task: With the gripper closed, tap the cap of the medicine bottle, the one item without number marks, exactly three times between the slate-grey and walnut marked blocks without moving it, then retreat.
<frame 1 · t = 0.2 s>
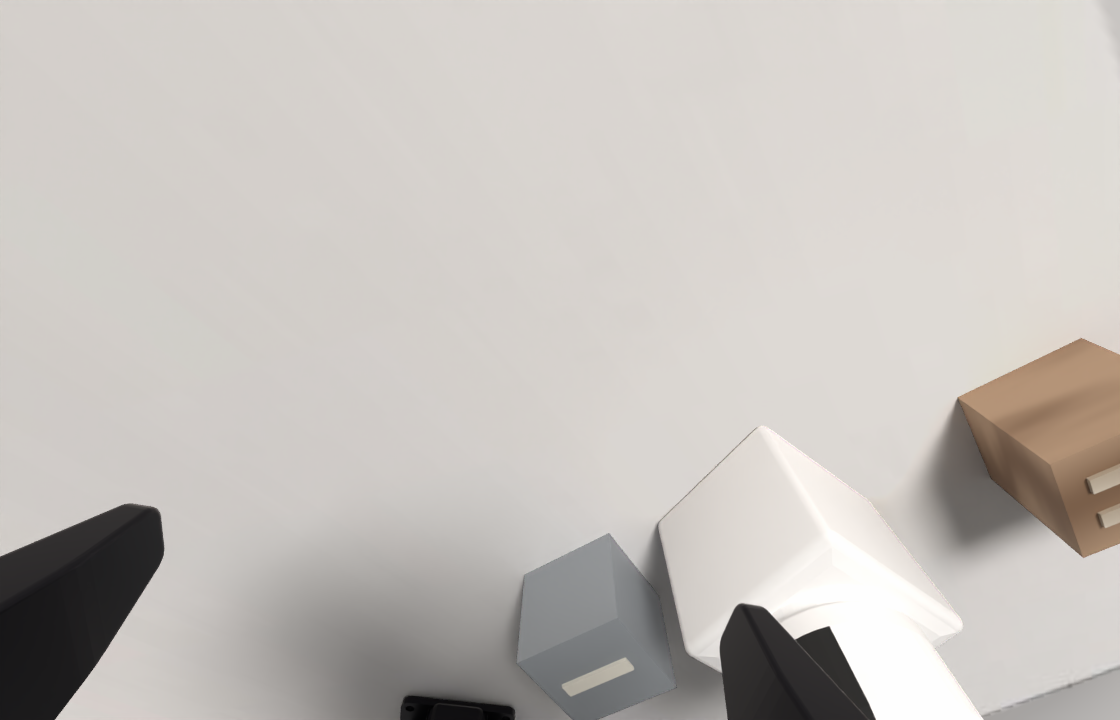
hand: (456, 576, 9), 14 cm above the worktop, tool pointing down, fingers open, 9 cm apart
medicine bottle: (759, 508, 26), on the worktop
slate block one: (592, 584, 28), on the worktop
walnut block two: (1032, 411, 24), on the worktop
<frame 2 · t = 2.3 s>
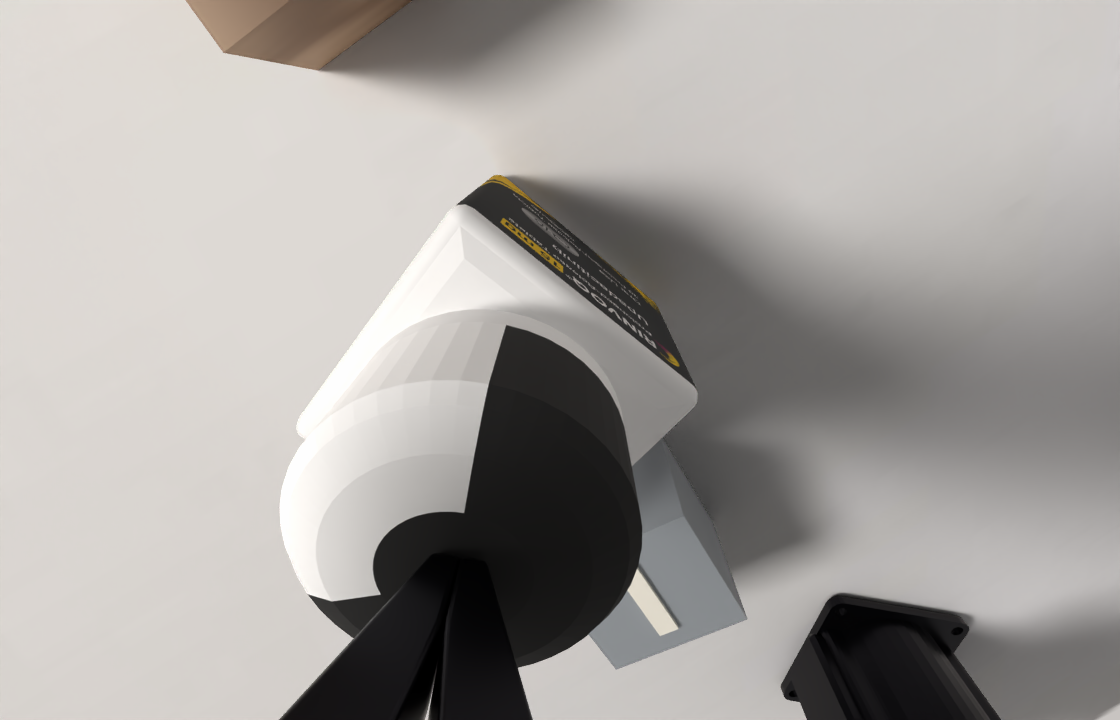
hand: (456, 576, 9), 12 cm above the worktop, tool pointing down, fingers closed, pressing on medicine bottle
medicine bottle: (518, 316, 20), on the worktop, touching gripper
slate block one: (631, 502, 23), on the worktop
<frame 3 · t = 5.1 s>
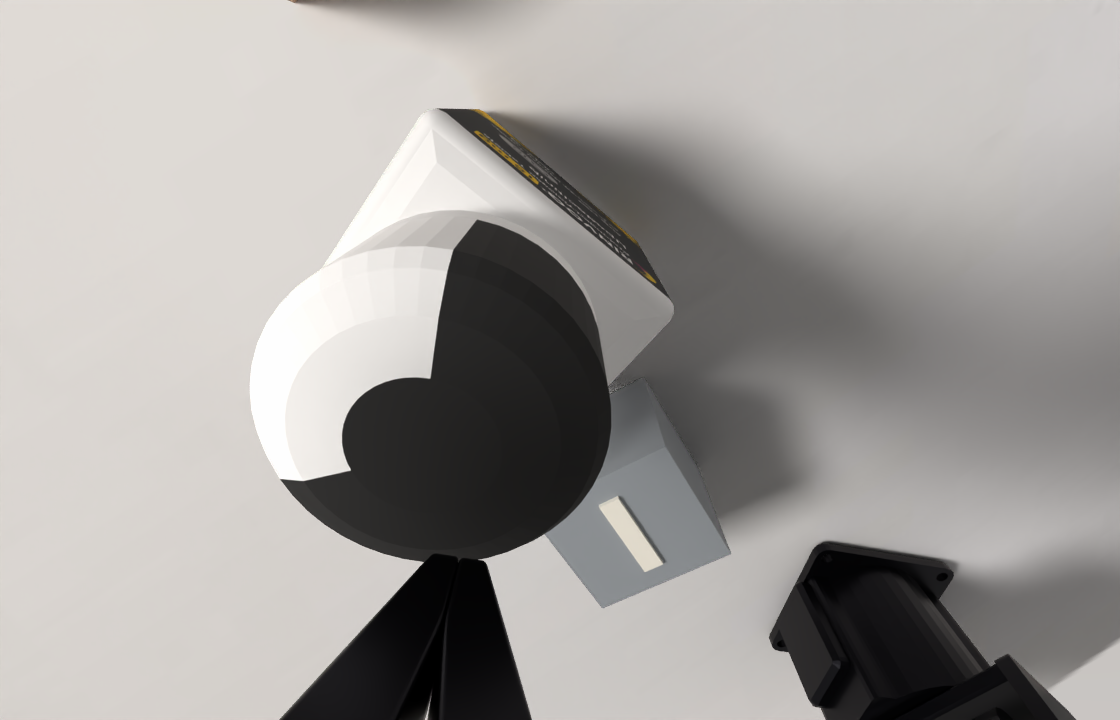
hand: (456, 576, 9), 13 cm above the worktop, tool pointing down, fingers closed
medicine bottle: (501, 258, 20), on the worktop
slate block one: (617, 449, 23), on the worktop
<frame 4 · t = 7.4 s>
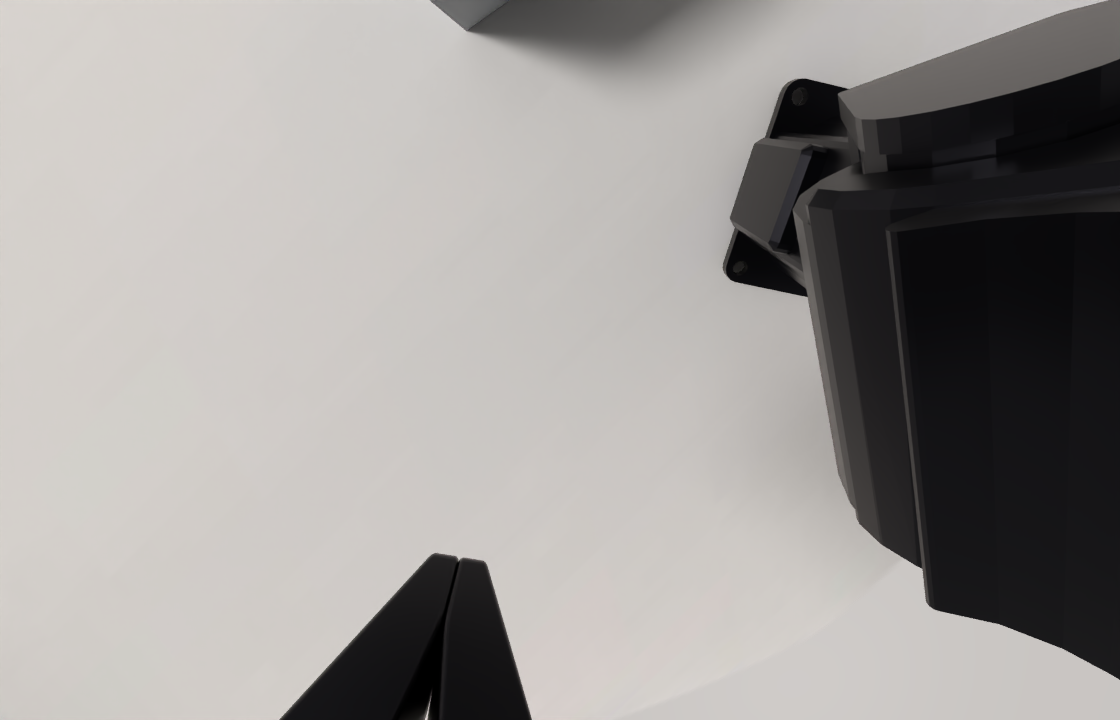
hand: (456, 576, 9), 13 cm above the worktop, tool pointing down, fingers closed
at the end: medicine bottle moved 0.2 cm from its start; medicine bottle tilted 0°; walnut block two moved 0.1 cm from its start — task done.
